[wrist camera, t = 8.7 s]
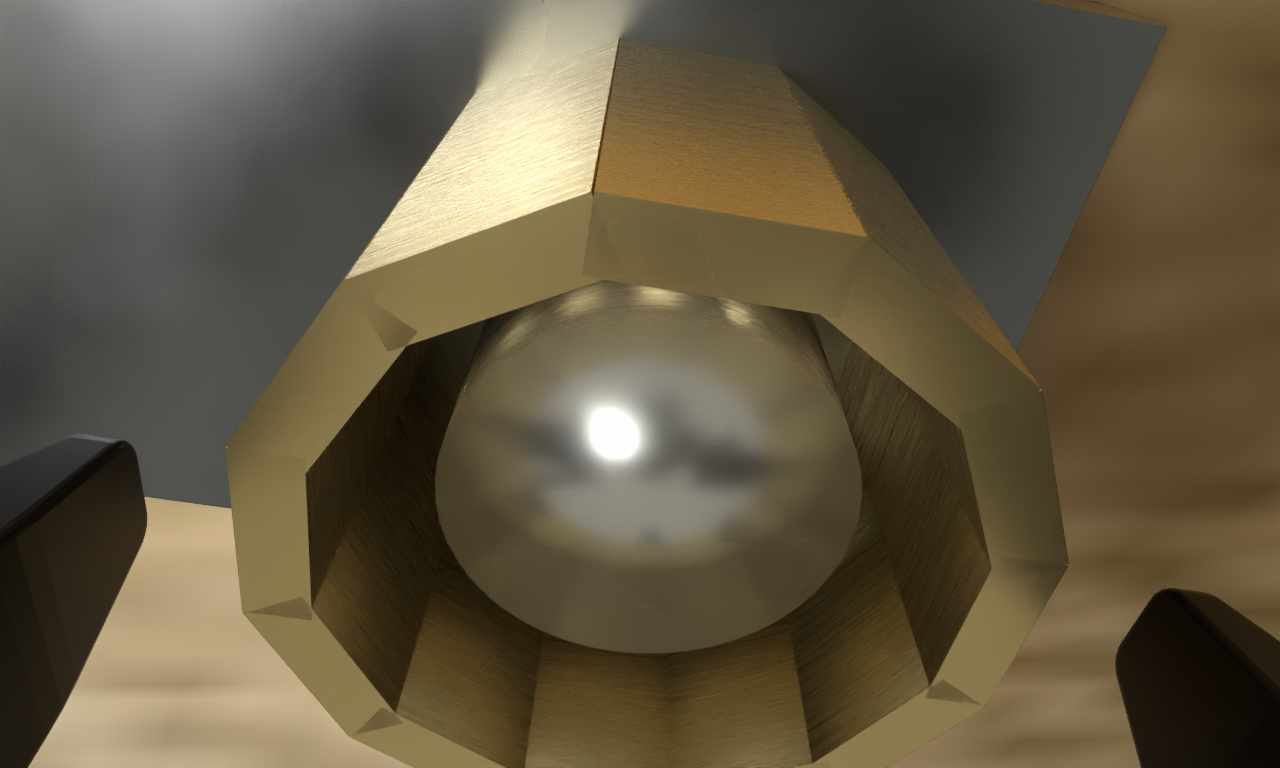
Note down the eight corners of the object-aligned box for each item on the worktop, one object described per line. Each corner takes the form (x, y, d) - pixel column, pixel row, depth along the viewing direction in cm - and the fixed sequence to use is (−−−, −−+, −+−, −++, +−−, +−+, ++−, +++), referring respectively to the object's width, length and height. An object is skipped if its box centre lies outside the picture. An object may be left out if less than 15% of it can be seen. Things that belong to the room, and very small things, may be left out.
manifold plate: (881, 538, 16) (976, 835, 11) (-585, 329, 14) (-1218, 581, 9) (1107, 4, 11) (1443, 130, 6) (-1077, -423, 9) (-2911, -696, 4)
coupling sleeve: (823, 539, 14) (899, 853, 9) (386, 478, 13) (259, 782, 9) (986, 104, 10) (1225, 298, 6) (395, -4, 10) (192, 123, 5)
